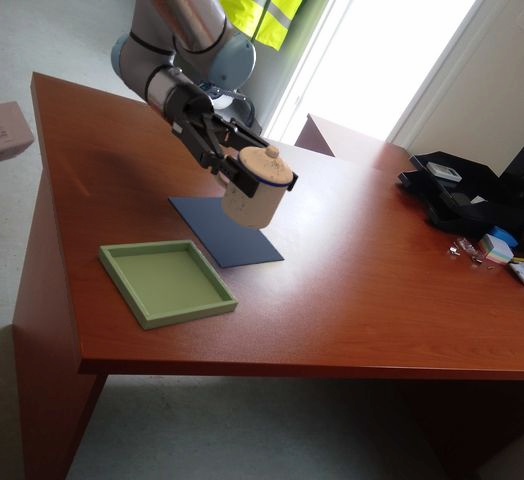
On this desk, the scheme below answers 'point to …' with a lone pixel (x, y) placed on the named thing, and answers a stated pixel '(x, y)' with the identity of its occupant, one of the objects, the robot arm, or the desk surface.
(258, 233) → the mat
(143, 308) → the tray
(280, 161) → the teacup with lid
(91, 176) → the desk surface
